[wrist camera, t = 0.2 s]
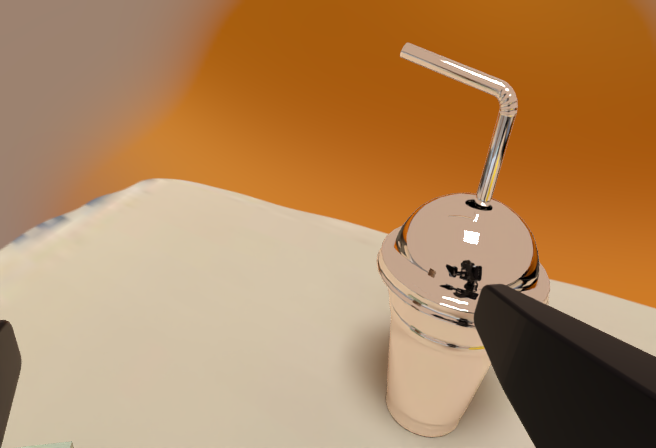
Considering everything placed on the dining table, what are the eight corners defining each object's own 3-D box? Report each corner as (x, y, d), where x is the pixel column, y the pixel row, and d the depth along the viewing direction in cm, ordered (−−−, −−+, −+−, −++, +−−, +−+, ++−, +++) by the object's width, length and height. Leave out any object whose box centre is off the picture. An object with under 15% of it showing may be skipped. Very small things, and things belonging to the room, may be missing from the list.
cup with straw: (409, 497, 23) (531, 94, 13) (324, 370, 30) (365, 40, 20) (525, 435, 27) (686, 86, 17) (427, 334, 34) (503, 43, 24)
